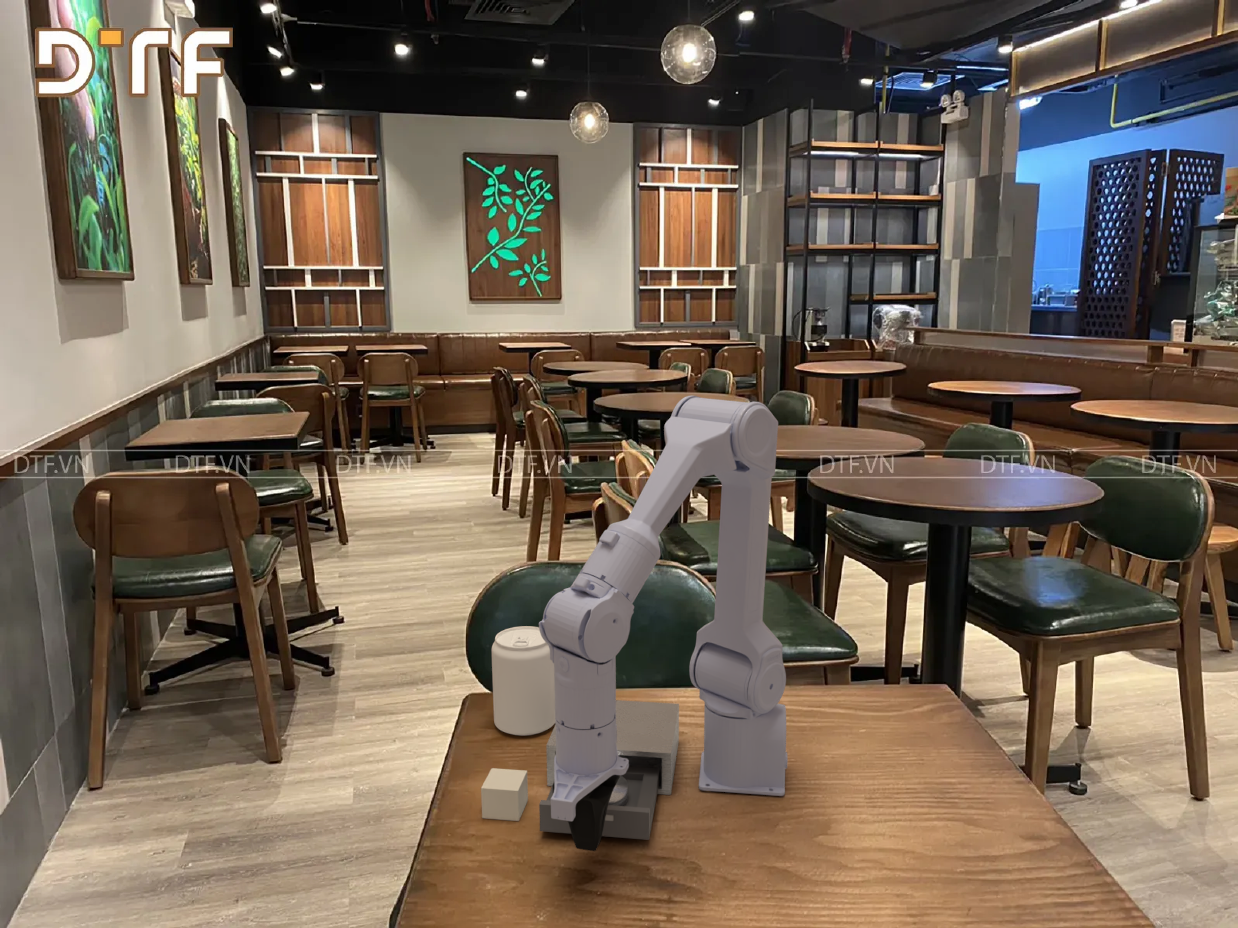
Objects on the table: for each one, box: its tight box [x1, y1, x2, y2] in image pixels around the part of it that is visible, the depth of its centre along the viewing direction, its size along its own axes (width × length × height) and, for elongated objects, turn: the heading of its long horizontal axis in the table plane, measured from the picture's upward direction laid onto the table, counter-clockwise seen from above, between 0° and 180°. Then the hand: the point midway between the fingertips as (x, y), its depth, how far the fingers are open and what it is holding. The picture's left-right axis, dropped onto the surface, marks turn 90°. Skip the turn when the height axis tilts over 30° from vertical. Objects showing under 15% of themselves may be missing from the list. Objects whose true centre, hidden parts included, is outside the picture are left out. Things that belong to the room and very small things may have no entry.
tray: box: [538, 765, 660, 841], centre depth 93 cm, size 11×11×3 cm
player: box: [545, 699, 680, 796], centre depth 103 cm, size 14×12×5 cm
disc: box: [608, 775, 628, 806], centre depth 93 cm, size 5×5×2 cm
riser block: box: [480, 767, 529, 822], centre depth 94 cm, size 4×4×4 cm
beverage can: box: [491, 625, 555, 737], centre depth 112 cm, size 8×8×12 cm
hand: (587, 845), depth 84 cm, fingers closed
